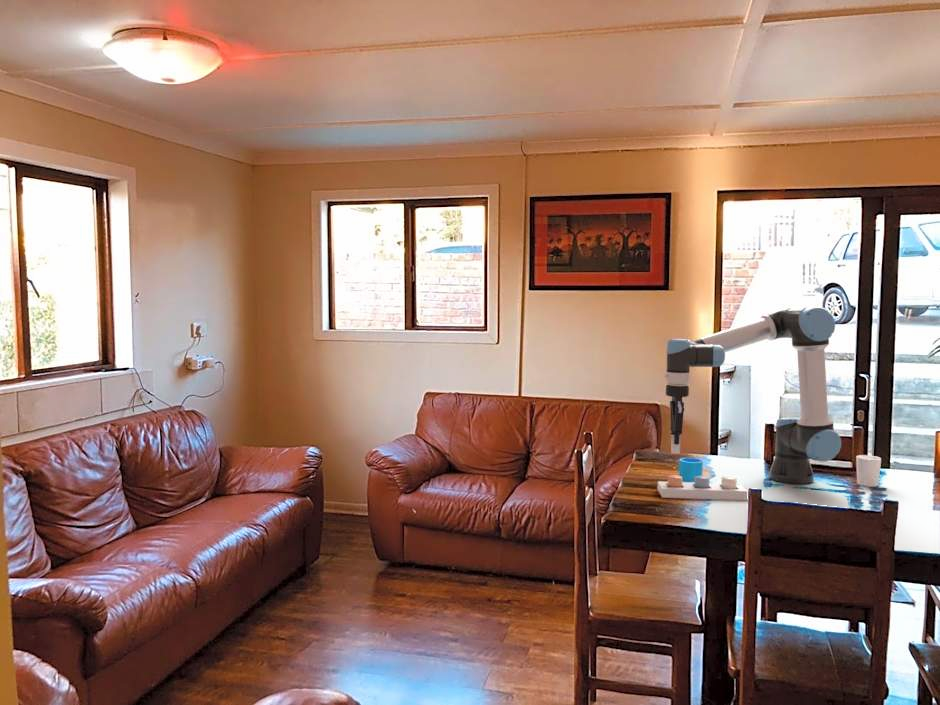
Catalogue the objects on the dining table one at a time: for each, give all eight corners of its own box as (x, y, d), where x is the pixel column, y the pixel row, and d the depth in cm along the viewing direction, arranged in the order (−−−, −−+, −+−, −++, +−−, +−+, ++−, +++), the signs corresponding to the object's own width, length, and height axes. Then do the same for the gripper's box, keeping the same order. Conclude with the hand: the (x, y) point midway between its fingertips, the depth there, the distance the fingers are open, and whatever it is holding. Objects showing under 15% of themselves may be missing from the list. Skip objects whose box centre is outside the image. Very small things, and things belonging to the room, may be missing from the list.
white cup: (878, 483, 268) (880, 456, 267) (880, 488, 260) (882, 460, 260) (854, 480, 271) (855, 454, 270) (855, 485, 264) (857, 458, 263)
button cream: (734, 488, 252) (734, 476, 252) (737, 491, 247) (738, 480, 247) (719, 487, 253) (720, 476, 252) (723, 491, 248) (723, 479, 247)
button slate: (707, 487, 253) (707, 476, 253) (710, 491, 248) (710, 479, 248) (693, 487, 253) (693, 475, 253) (695, 490, 249) (696, 479, 248)
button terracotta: (680, 486, 254) (680, 475, 254) (683, 490, 249) (683, 478, 249) (666, 486, 254) (666, 474, 254) (668, 489, 250) (669, 478, 249)
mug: (706, 484, 265) (707, 462, 264) (686, 485, 263) (686, 463, 262) (688, 476, 277) (689, 455, 276) (669, 477, 275) (669, 456, 274)
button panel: (739, 492, 255) (740, 483, 254) (747, 500, 245) (748, 491, 244) (657, 489, 257) (657, 481, 257) (662, 497, 247) (662, 488, 247)
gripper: (663, 382, 256) (661, 448, 258) (669, 386, 243) (667, 456, 245) (685, 382, 255) (683, 449, 257) (692, 387, 242) (690, 457, 244)
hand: (675, 453), depth 251 cm, fingers closed
